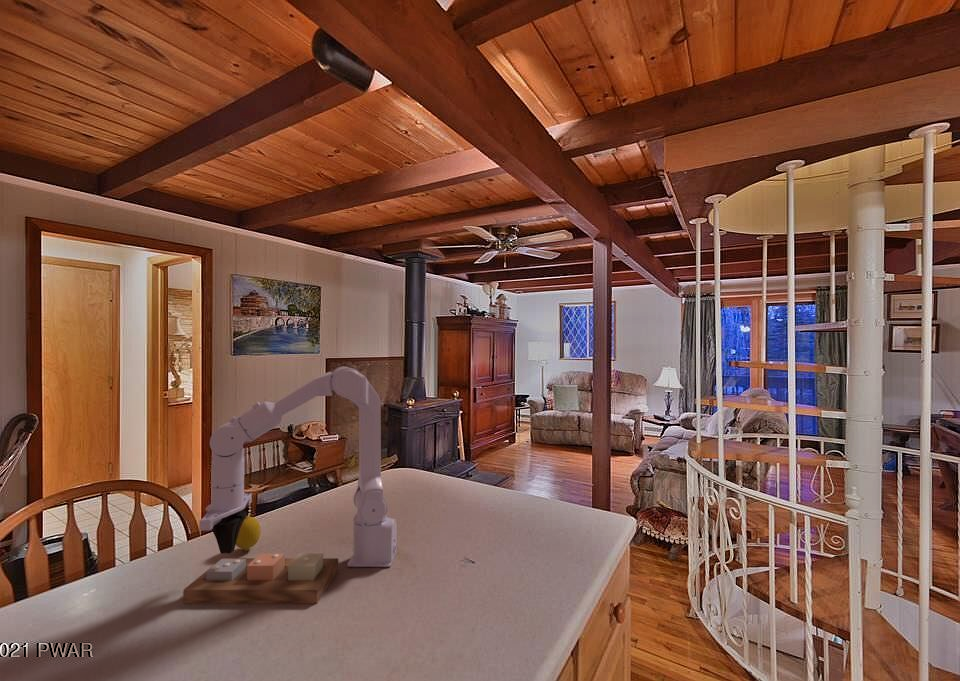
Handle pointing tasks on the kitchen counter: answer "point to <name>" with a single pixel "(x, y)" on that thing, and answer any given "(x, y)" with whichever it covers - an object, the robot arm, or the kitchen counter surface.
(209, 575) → the tile three
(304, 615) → the kitchen counter surface
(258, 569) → the tile two
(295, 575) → the tile one
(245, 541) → the lemon
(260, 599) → the button board
